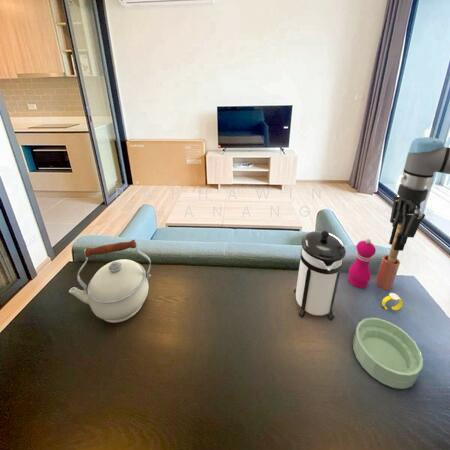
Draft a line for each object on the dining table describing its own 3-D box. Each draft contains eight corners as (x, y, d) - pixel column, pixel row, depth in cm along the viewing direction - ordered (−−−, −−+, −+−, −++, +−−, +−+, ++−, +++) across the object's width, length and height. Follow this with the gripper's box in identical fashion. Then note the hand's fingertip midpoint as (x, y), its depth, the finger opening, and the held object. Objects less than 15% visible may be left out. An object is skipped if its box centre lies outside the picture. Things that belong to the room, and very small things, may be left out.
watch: (396, 306, 84) (401, 293, 82) (401, 313, 81) (406, 299, 79) (379, 305, 84) (383, 292, 82) (383, 312, 82) (387, 299, 80)
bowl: (383, 327, 77) (388, 313, 75) (431, 382, 63) (438, 367, 61) (341, 337, 74) (344, 323, 72) (380, 397, 60) (386, 381, 58)
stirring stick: (384, 281, 93) (402, 222, 84) (389, 285, 91) (408, 226, 82) (379, 282, 93) (396, 223, 84) (384, 287, 91) (402, 227, 82)
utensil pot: (383, 279, 95) (391, 254, 91) (395, 289, 91) (403, 263, 86) (372, 281, 94) (379, 256, 90) (383, 291, 90) (391, 265, 85)
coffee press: (346, 308, 83) (365, 234, 72) (317, 333, 75) (333, 254, 64) (305, 276, 96) (315, 209, 86) (276, 295, 88) (284, 223, 77)
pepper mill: (350, 288, 91) (360, 244, 84) (344, 274, 98) (354, 232, 90) (371, 291, 90) (383, 246, 83) (363, 276, 96) (375, 234, 89)
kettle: (153, 277, 96) (146, 223, 87) (156, 318, 79) (148, 256, 70) (82, 294, 88) (66, 236, 79) (69, 342, 72) (48, 276, 63)
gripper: (388, 176, 85) (374, 233, 94) (416, 196, 71) (396, 261, 79) (411, 177, 85) (395, 234, 93) (444, 197, 70) (421, 263, 79)
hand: (395, 246), depth 86 cm, fingers closed on stirring stick, 2 cm apart
